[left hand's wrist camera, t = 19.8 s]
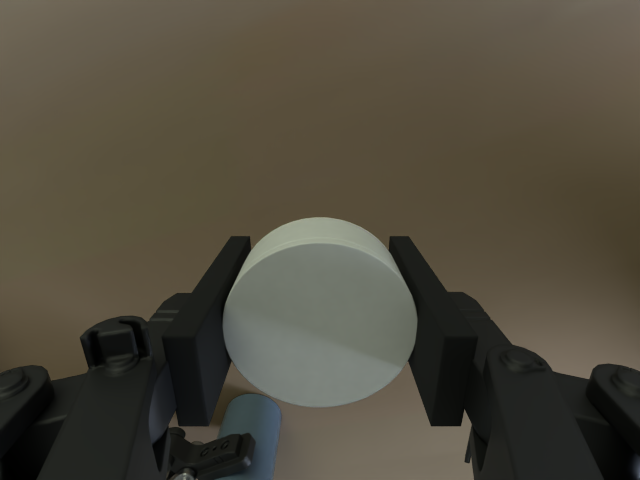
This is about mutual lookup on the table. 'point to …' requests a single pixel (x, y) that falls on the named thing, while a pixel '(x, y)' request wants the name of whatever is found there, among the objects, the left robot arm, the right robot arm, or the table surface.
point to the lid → (319, 314)
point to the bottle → (254, 433)
